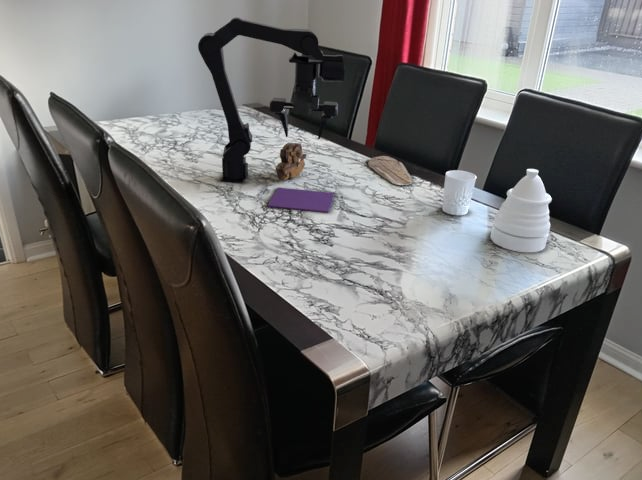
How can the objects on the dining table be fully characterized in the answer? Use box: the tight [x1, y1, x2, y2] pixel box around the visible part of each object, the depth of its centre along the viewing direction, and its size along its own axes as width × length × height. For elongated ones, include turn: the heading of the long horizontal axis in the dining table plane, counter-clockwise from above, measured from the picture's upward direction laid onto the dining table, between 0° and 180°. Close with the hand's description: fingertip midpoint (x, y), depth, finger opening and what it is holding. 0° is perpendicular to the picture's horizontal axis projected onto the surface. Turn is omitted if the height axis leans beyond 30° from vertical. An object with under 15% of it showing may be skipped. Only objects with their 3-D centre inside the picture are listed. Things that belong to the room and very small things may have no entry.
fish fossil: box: [367, 155, 413, 186], centre depth 181 cm, size 26×10×1 cm, turn 18°
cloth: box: [267, 187, 335, 214], centre depth 156 cm, size 16×14×1 cm
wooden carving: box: [275, 142, 308, 181], centre depth 169 cm, size 16×5×10 cm, turn 161°
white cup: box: [441, 169, 477, 216], centre depth 152 cm, size 8×8×10 cm
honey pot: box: [490, 168, 553, 253], centre depth 135 cm, size 13×13×18 cm
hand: (302, 137), depth 164 cm, fingers open, 9 cm apart
